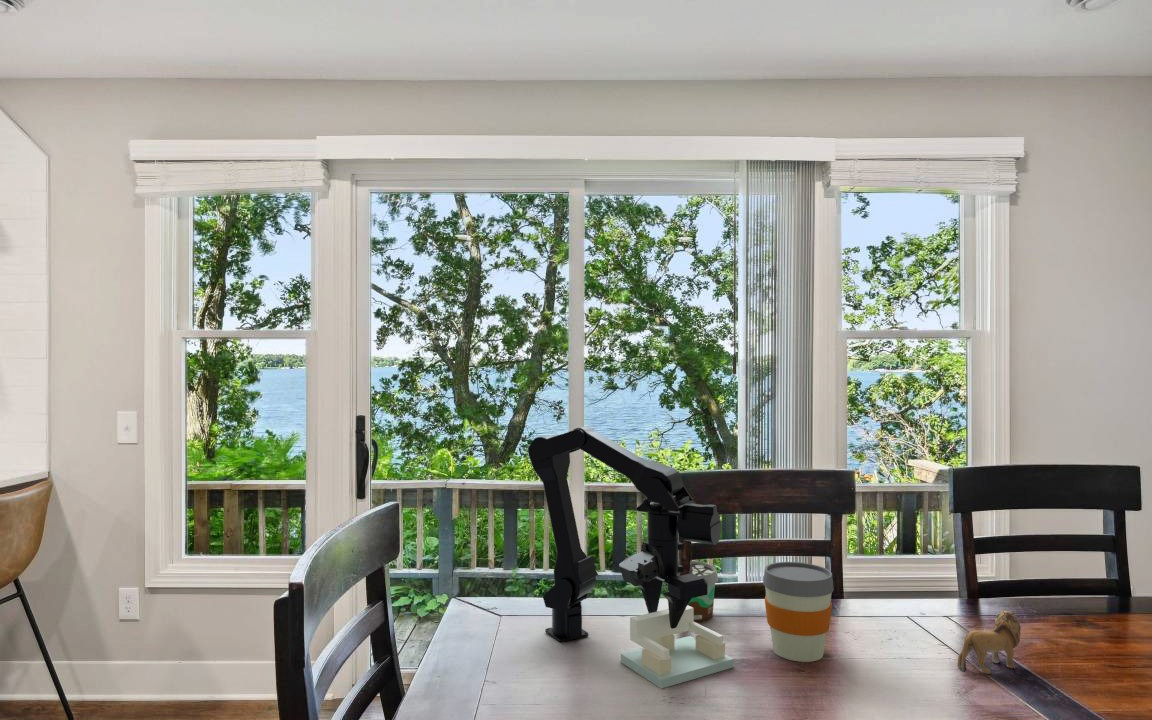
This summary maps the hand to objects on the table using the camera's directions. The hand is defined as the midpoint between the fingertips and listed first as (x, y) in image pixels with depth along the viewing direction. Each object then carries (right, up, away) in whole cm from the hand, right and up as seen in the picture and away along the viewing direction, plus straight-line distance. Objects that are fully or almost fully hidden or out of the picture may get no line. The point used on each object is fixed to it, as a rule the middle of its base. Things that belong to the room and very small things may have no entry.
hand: (662, 622), depth 130 cm
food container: (+11, -6, +20) cm, 24 cm away
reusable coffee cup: (+25, -6, +2) cm, 26 cm away
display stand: (+2, -6, -3) cm, 7 cm away
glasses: (+2, -2, -3) cm, 5 cm away
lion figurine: (+58, -6, -4) cm, 58 cm away
